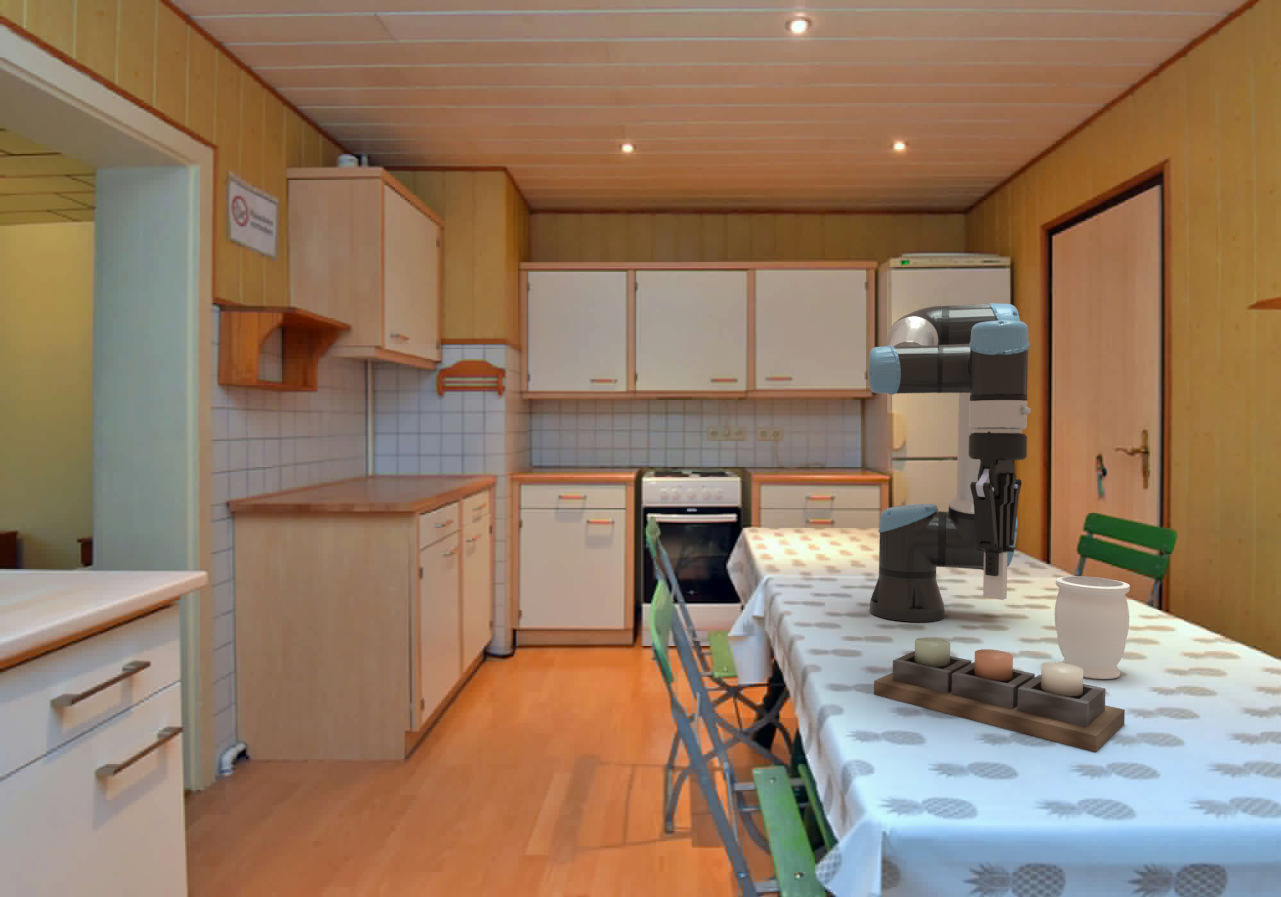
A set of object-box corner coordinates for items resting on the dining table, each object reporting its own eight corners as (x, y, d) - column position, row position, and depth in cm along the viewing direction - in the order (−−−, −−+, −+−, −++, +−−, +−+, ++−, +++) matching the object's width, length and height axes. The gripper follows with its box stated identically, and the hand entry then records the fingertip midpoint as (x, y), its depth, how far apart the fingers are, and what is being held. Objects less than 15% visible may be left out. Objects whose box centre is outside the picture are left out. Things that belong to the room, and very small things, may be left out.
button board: (873, 694, 120) (874, 661, 120) (913, 674, 130) (913, 644, 129) (1096, 752, 99) (1097, 712, 99) (1124, 724, 109) (1125, 687, 108)
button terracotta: (968, 675, 114) (968, 654, 114) (982, 667, 118) (982, 647, 118) (1004, 683, 111) (1005, 661, 111) (1018, 675, 114) (1018, 654, 114)
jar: (1119, 666, 134) (1121, 577, 134) (1135, 685, 125) (1137, 589, 124) (1049, 660, 138) (1050, 573, 137) (1059, 678, 128) (1061, 585, 128)
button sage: (908, 661, 121) (909, 642, 120) (923, 655, 124) (923, 635, 124) (941, 669, 117) (941, 648, 117) (955, 661, 121) (955, 642, 121)
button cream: (1035, 690, 108) (1035, 667, 108) (1048, 681, 112) (1048, 660, 111) (1076, 699, 104) (1076, 676, 104) (1087, 690, 108) (1088, 667, 108)
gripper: (1008, 431, 106) (1004, 609, 106) (1041, 431, 115) (1038, 595, 116) (951, 431, 111) (949, 600, 112) (988, 431, 120) (985, 587, 121)
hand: (994, 597), depth 114 cm, fingers closed
